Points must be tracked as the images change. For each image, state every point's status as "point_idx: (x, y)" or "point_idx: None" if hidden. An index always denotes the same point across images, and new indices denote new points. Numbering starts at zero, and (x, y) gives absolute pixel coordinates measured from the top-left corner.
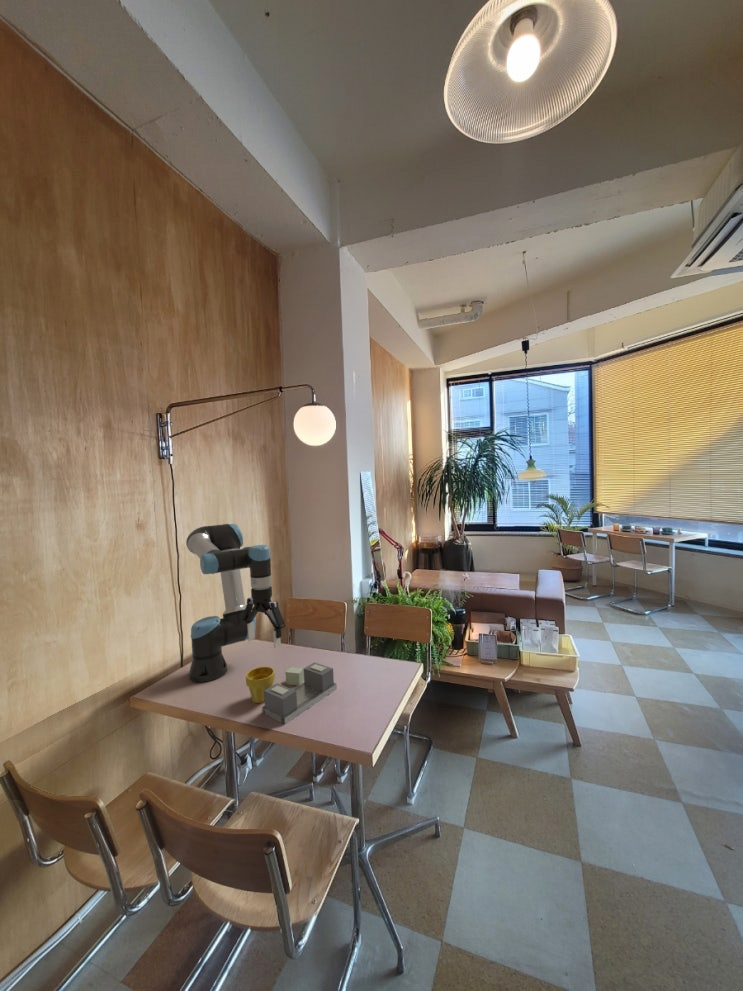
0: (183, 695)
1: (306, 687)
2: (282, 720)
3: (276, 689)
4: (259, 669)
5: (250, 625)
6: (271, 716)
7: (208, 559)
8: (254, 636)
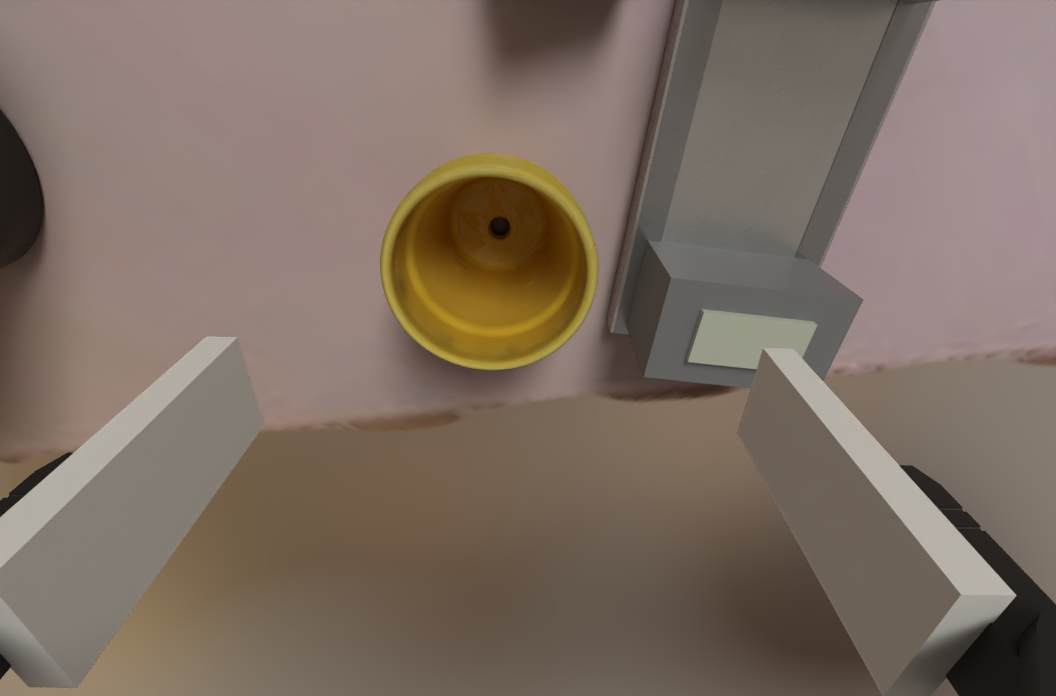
0: (115, 373)
1: (758, 23)
2: None
3: (726, 350)
4: (410, 213)
5: (92, 607)
6: None
7: None
8: (223, 363)
